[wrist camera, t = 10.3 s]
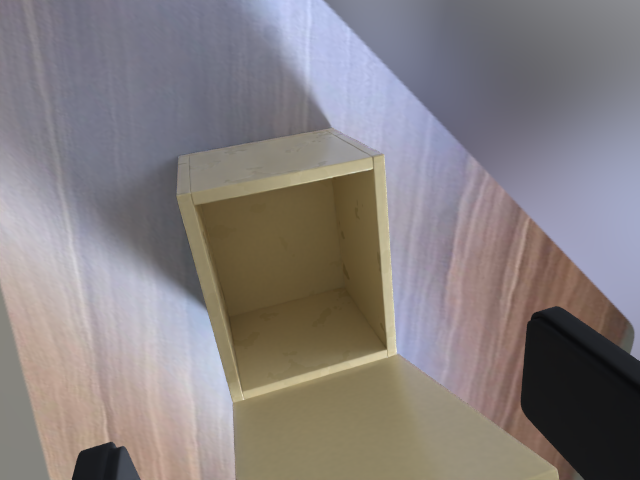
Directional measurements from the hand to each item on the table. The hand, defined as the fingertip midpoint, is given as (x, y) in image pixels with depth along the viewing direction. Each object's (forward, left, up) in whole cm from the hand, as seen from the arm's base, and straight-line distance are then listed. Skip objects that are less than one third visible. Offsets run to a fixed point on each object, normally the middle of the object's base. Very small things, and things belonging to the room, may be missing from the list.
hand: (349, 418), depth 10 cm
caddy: (+5, +6, -29) cm, 30 cm away
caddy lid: (+8, +9, -10) cm, 15 cm away
